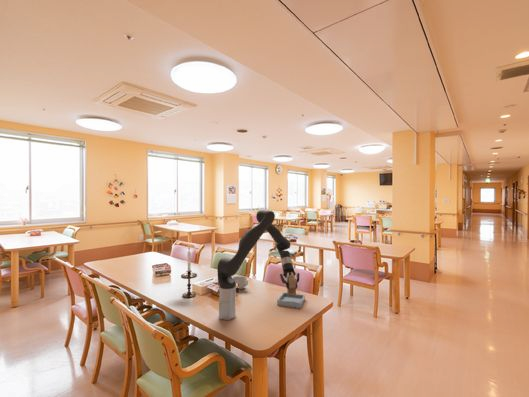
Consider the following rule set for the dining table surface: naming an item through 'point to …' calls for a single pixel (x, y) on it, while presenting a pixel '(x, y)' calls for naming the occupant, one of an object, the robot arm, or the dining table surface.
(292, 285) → the wick block
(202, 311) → the dining table surface
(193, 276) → the candlestick
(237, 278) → the teacup
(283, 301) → the candle dish
